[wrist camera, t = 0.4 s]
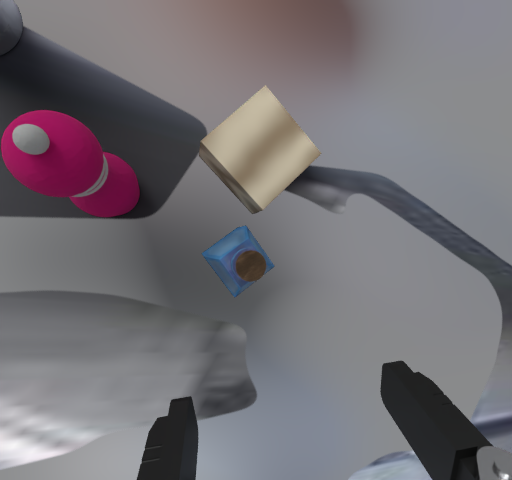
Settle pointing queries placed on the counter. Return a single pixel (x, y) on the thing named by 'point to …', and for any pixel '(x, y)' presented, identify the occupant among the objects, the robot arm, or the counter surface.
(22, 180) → the pepper mill
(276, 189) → the birch block
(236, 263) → the perfume bottle
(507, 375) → the counter surface
